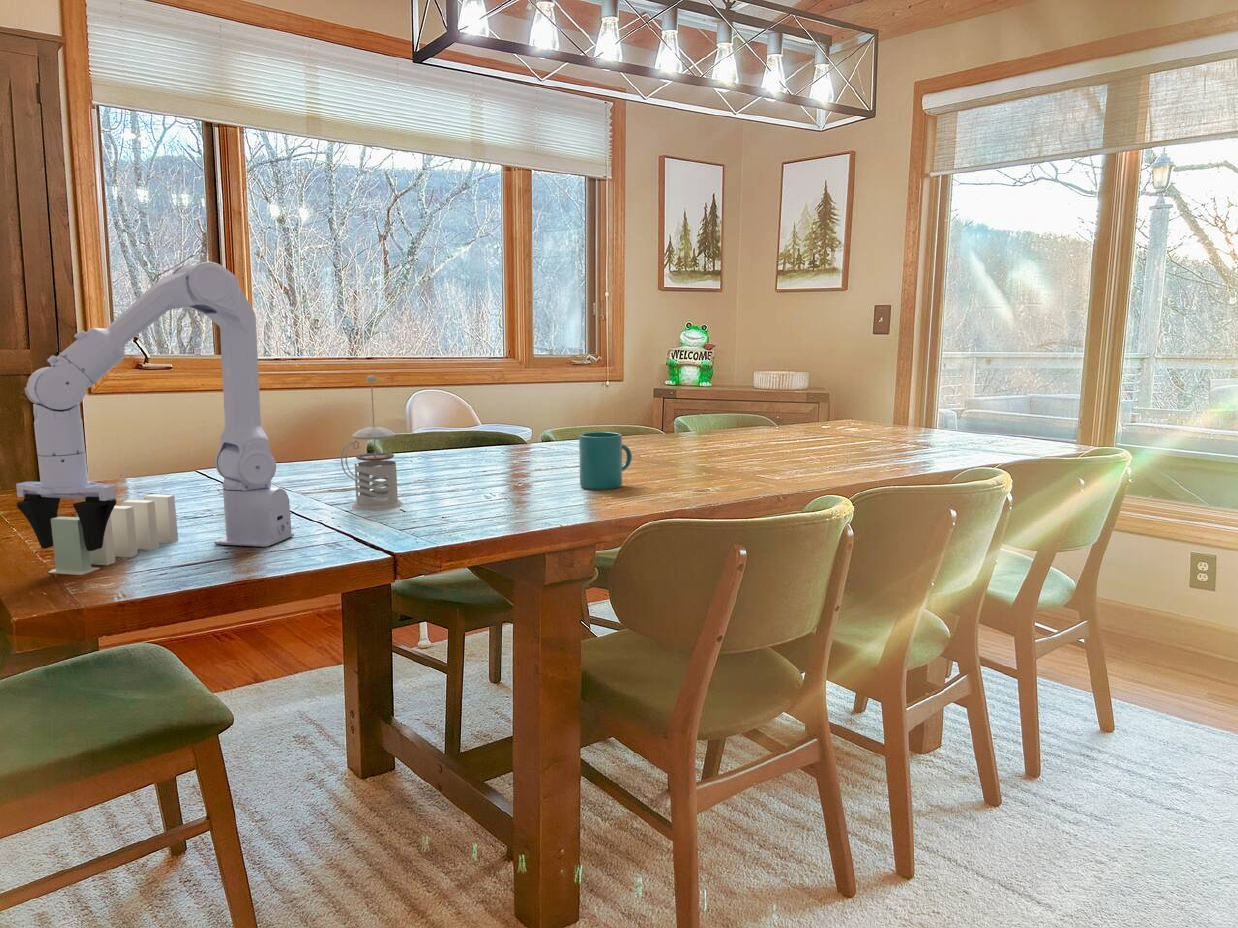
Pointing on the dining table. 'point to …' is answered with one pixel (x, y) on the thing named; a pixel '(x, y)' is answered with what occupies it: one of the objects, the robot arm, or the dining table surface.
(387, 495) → the french press
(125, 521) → the domino
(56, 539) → the domino
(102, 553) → the domino
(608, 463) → the cup
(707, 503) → the dining table surface
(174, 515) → the domino
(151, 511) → the domino
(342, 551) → the dining table surface
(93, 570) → the pad
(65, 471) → the robot arm
